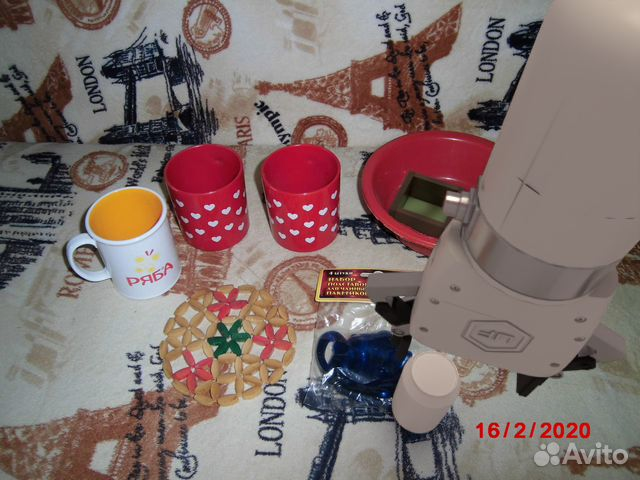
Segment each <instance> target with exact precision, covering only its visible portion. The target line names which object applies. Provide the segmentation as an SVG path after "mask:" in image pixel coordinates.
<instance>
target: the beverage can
mask: <svg viewBox="0 0 640 480" xmlns="http://www.w3.org/2000/svg"><path fill="white" fill-rule="evenodd" d="M461 387H462V380H461V376H460V373H459V371H458V368H457V366H456V364H455V362H454V360H452V359H451V357H449V356H448V355H447V354H445V353H444V352H441V351H438V350H427V351H422V352H419V353H416V354H413V355H412V356H411V357H410V358H409V359H408V360H407V361H406V363H405V364H404V366H403V368H402V371H401V374H400V377H399V379H398V382H397V384H396V387H395V390H394V392H393V396H392V400H391V411H392V414H393V416H394V418H395V420H396V422H397V423H398V424H399V425H400V426H401V427H402V428H403V429H405V430H407V431H408V432H411V433H413V434H426V433H429V432H431V431H433V430H434V429H435V428H436V427H438V425H439V424H440V423H441V421H442V420H443V418H444V417H445V416H446V415H447V413H448V412H449V410H450V409H451V407H452V406H453V404H455V402H456V401H457V399H458V397H459V396H460V393H461Z"/></svg>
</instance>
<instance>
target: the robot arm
mask: <svg viewBox="0 0 640 480" xmlns="http://www.w3.org/2000/svg"><path fill="white" fill-rule="evenodd" d="M518 81H519V82H518V84H517V86H516V89H515V92H514V94H513V97H512V99H511V101H510V104H509V107H508V109H507V112H506V114H505V117H504V119H503V122H502V125H501V127H500V130H499V132H498V134H497V138H496V140H495V143H494V145H493V148H492V150H491V153H490V155H489V157H488V159H487V163H486V166H485V168H484V171H483V173H482V175H481V174H480V175H479V176H478V178H477V181H476V184H475V187H470V189H469V190H468V191H466V190H465V191H461V193H456V192H452V191H447V192H446V195H445V198H444V202H443V206H442V210H441V214H442V215H446V216H451V217H454V218H453V219H452V221H451V222H450V223H449V225H448V226H447V227H446V229H445V230H444V232H443V233H442V235H441V236H440V238H439V240H438V241H437V243H436V245H435V247H434V249H433V248H432V251H431V253H430V255H429V257H428V259H427V261H426V263H425V266H424V267H423V270H422V271H403V272H378V273H377V272H376V273H375V272H374V273H369V274H368V275H367V279H366V282H365V285H364V292H365V295H366V296H367V298H368V299H369V300H370V302H371V303H372V304H374V306H375V307H374V312H375V313H377V314H378V315H379V316H380V317H381V318H382V319H384V320H385V321H386V322H387V323H388V324H390V325H391V327H390V332H391V334H392V335H391V338H390V339H391V340H390V345H392V346H396V347H397V351H396V356H395V358H394V359H395V361H397V362H402V361H406V357H407V355H408V352H409V350H410V346H411V344H412V340H415V341H416V342H417V343H419V344H420V345H422V346H424V347H426V348H429V349H432V350H434V351H437V352H440V353H444V354H448V355H451V356H456V357H459V358H463V359H466V360H469V361H472V362H477V363H479V364H483V365H487V366H491V367H495V368H497V369H502V370H506V371H509V372H513V373H516V383H515V385H516V386H515V393H516V394H518V396H519V397H524V398H527V397H529V395H531V394H532V392H534V391H535V390H536V389H537V388H538V387H540V386H542V385H543V384H544V383H545V382H547V381H548V379H553V380H560V379H563V378H564V377H565V376H564V372H575V371H591V370H594V369H596V368H597V364H601V365H604V364H608V363H612V362H617V361H620V360H624V359H626V358H627V357H628V353H627V345H626V338H625V337H624V336H623V335H620V334H619V333H617V332H616V331H614V330H613V329H611V328H609V327H607V325H605V324H603V323H601V321H602V319H603V318H604V315H605V314H606V312H607V310H608V308H609V307H610V304H611V303H612V300H613V298H614V296H615V295H616V291H617V289H618V286H619V273H618V269H617V266H618V265H619V264H620V263H621V262H622V260H624V258H626V256H627V255H628V254H629V252H630V251H631V250H632V249H634V247H635V246H636V245H637V243H638V242H639V241H640V0H553V1H552V2H551V3H550V5H549V8H548V10H547V12H546V14H545V17H544V19H543V20H542V23H541V26H540V28H539V31H538V33H537V36H536V39H535V40H534V43H533V46H532V48H531V51H530V53H529V56H528V58H527V61H526V64H525V66H524V68H523V71H522V74H521V76H520V79H519V80H518Z"/></svg>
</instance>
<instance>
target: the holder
mask: <svg viewBox="0 0 640 480" xmlns="http://www.w3.org/2000/svg"><path fill="white" fill-rule="evenodd" d="M466 190H467V188H465V187H462V186H459V185H457V184H454V183H450V182H447V181H445V180H441V179H437V178H434V177H431V176H428V175H426V174H422V173H419V172H416V171H413V170H409V171H408V172H407V174H406V176H405V178H404V179H403V182H402V184H401V186H400V187H399V190H398V192H397V193H396V195H395V197H394V199H393V201H392V203H391V205H390V206H389V209H388V214H389V215H390V216H392V217H393V218H394V219H395V220H397V221H398V222H400V223H403V224H404V225H406V226H409V227H411V228H412V229H414V230H416V231H418V232H420V233H422V234H425V235H427V236H431V237H435V238H438V239H439V238H440V236H441V235H442V233H443V232H444V230H445V229H446V227H447V226H448V225H449V223H450V222H451V221H452V219H453V218H454V217H451V216H446V215H442V214H441V210H442V206H443V202H444V198H445V195H446V192H447V191H452V192H456V193H461V191H465V192H466ZM384 231H385V232H386V233H390V234H393V233H392V232H391V231H389V230H388V229H386V228H385V230H384ZM393 235H394V234H393Z"/></svg>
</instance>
